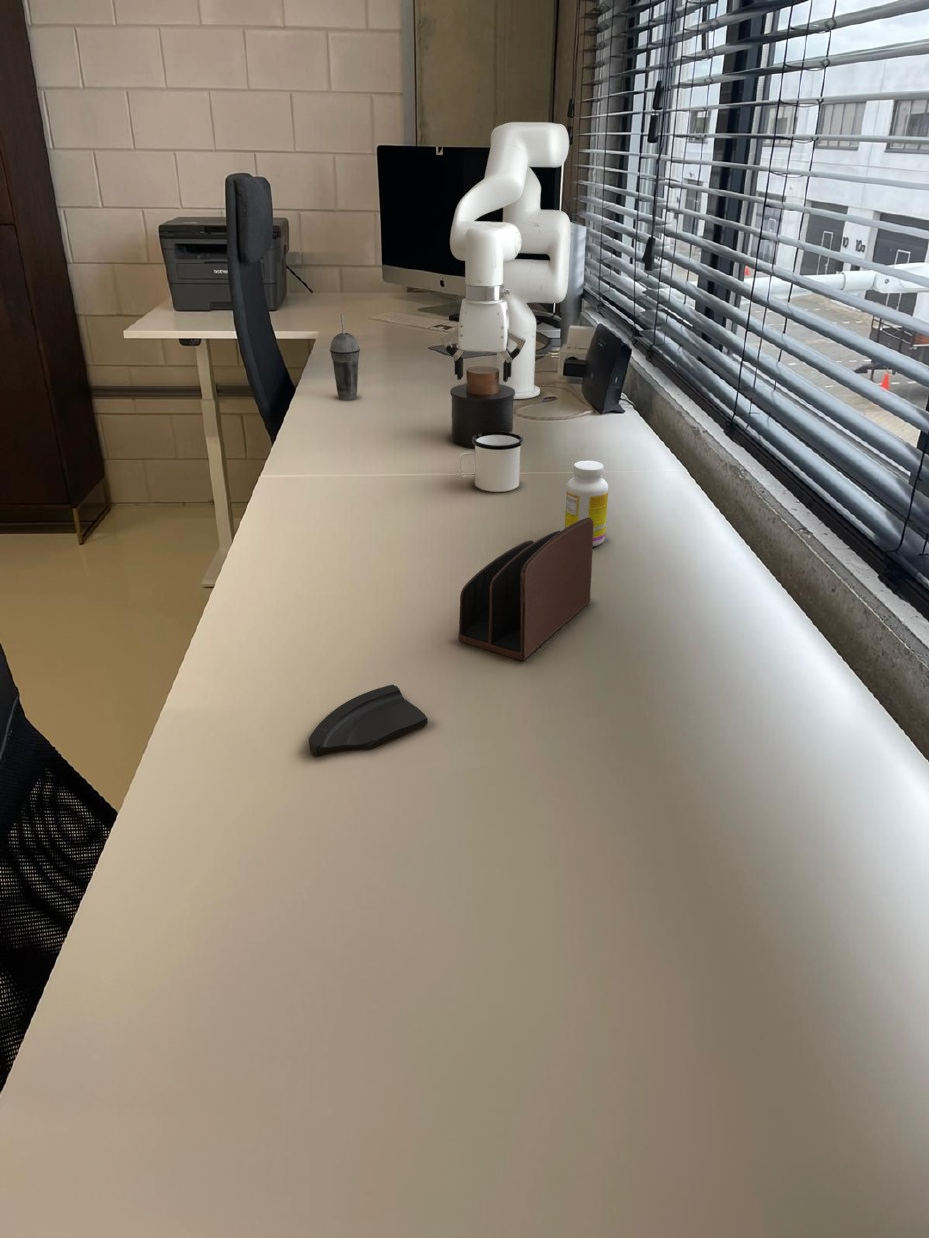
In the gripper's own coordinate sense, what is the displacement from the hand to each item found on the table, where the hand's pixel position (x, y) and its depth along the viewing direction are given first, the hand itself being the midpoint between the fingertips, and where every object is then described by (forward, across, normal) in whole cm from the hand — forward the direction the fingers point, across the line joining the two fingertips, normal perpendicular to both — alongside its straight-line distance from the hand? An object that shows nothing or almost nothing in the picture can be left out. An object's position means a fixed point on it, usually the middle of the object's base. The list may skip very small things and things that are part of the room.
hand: (482, 379), depth 197 cm
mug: (+13, -6, +28) cm, 32 cm away
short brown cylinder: (+2, 0, 0) cm, 2 cm away
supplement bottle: (+13, -25, +51) cm, 58 cm away
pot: (+13, 0, 0) cm, 13 cm away
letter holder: (+13, -19, +81) cm, 84 cm away
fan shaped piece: (+13, -4, +109) cm, 110 cm away
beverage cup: (+13, +38, -28) cm, 49 cm away
